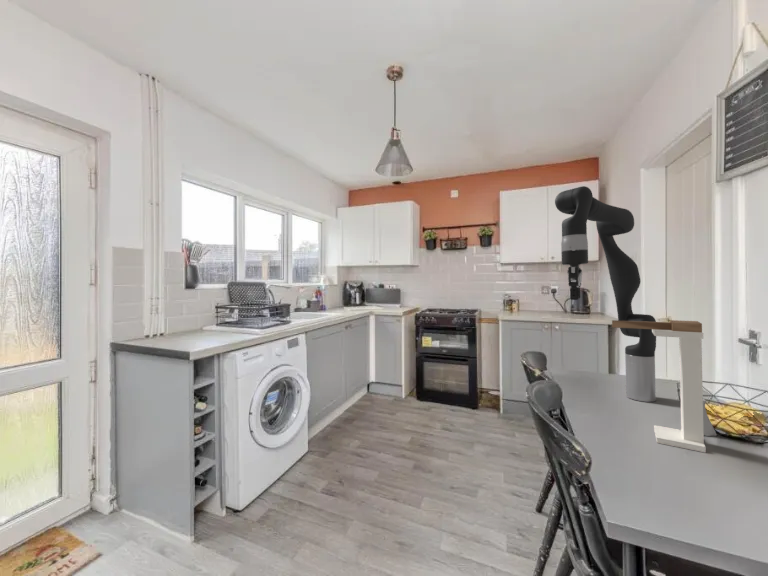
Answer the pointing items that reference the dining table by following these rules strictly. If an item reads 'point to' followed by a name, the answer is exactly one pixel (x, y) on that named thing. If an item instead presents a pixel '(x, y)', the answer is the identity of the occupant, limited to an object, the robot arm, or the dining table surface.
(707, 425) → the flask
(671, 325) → the tan angular block
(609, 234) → the robot arm
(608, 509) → the dining table surface
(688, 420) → the white pedestal stand
